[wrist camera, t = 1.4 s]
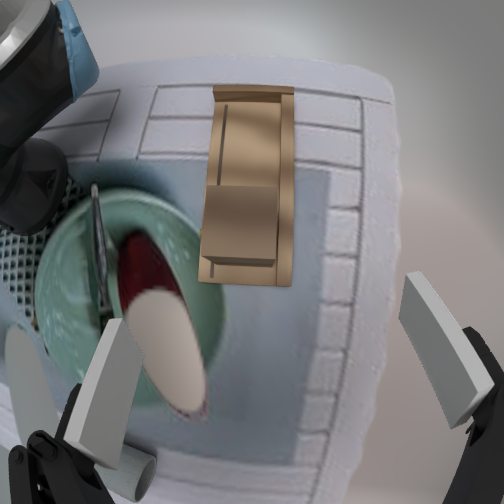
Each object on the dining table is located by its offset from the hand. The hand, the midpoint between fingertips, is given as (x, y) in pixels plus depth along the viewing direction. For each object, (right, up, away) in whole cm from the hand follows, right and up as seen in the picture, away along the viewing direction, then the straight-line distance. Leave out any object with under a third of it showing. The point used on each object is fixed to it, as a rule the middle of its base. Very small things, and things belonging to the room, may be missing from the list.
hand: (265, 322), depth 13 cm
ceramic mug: (-18, -27, +19) cm, 37 cm away
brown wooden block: (-1, +5, +20) cm, 21 cm away
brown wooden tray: (-1, +11, +23) cm, 25 cm away
